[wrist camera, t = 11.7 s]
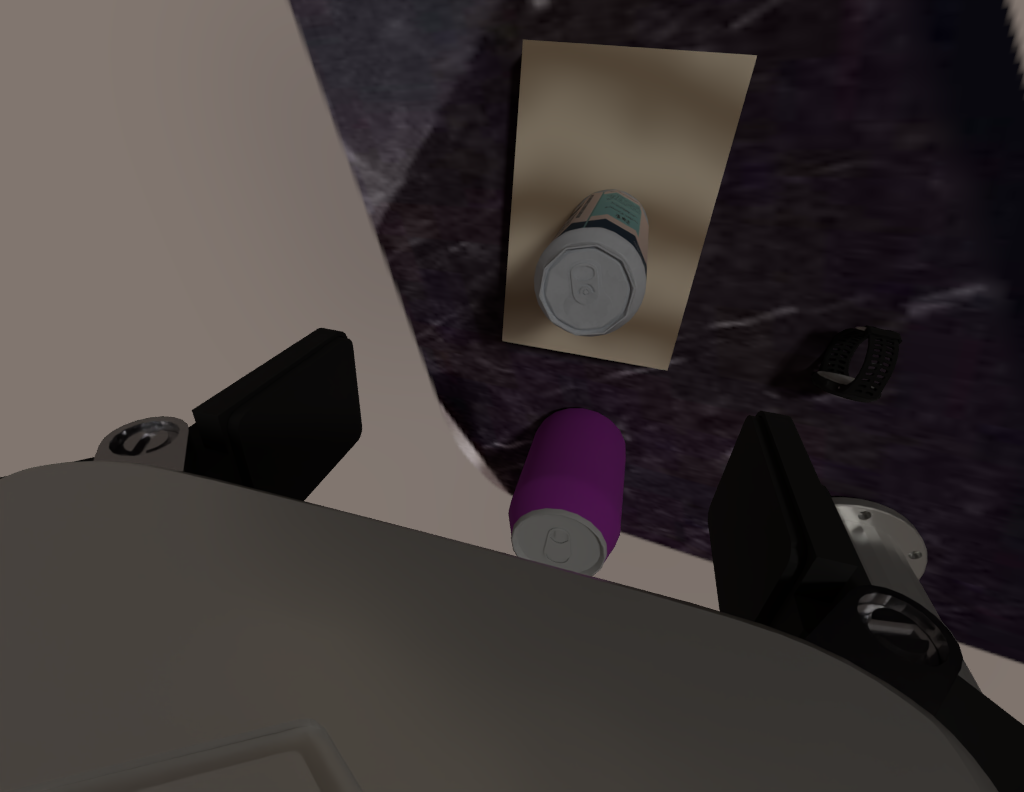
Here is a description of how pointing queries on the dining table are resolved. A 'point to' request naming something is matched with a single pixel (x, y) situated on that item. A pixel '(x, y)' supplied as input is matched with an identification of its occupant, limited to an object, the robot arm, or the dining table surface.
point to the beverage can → (570, 492)
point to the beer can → (595, 266)
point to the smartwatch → (856, 386)
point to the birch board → (619, 174)
